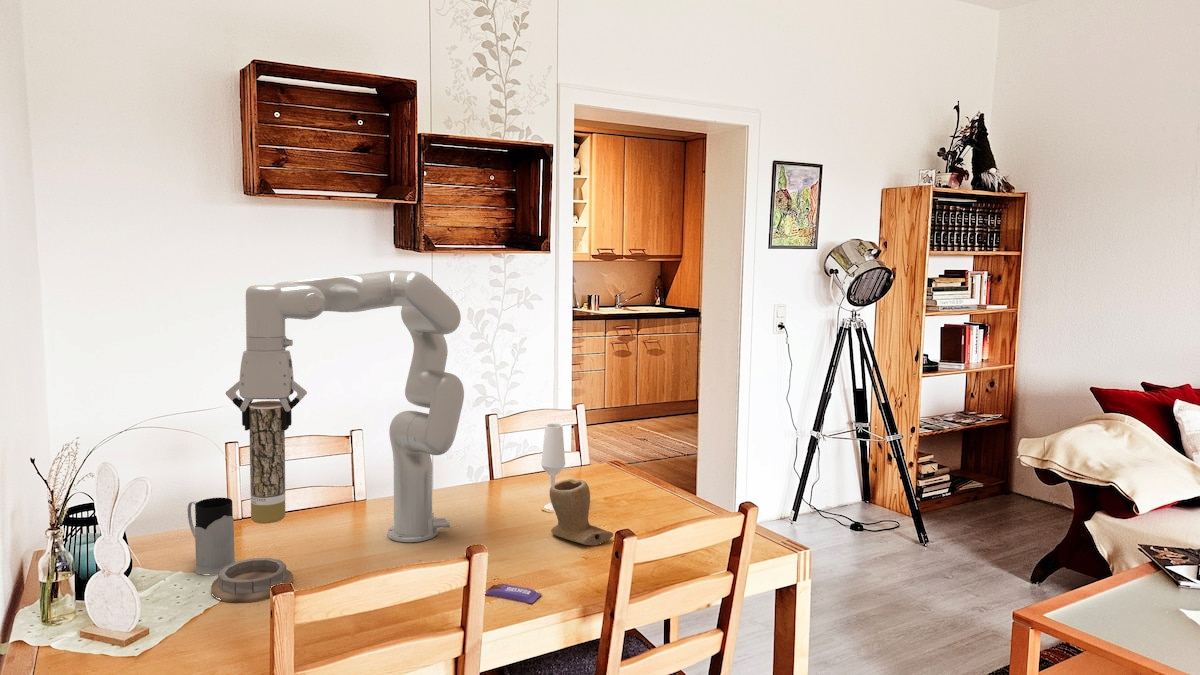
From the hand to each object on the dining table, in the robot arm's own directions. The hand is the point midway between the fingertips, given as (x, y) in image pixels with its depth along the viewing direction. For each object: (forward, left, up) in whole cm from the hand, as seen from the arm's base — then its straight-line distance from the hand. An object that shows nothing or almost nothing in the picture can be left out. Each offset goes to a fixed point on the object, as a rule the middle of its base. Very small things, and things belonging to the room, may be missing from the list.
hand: (267, 428), depth 169 cm
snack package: (-51, +10, -35) cm, 63 cm away
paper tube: (0, 0, -20) cm, 20 cm away
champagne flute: (-65, -45, -34) cm, 86 cm away
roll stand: (+3, +1, -34) cm, 34 cm away
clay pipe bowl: (-69, -21, -34) cm, 80 cm away
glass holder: (+16, -12, -34) cm, 40 cm away
